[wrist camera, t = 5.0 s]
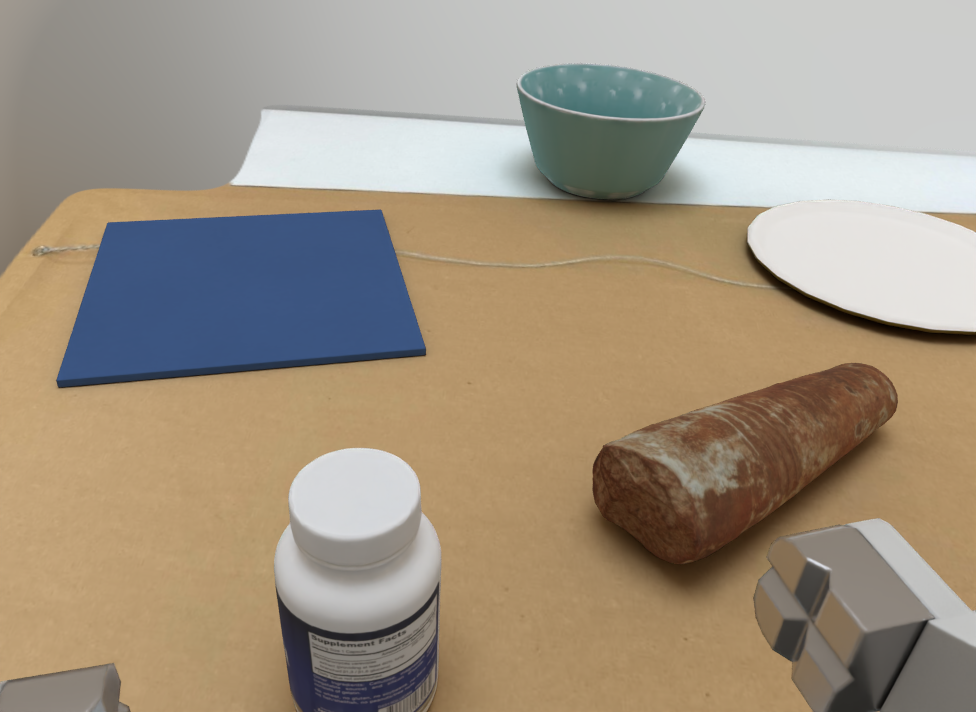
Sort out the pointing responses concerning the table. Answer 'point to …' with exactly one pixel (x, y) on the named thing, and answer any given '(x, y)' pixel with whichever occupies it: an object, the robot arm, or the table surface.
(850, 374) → the brown rounded cylinder
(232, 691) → the table surface
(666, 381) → the table surface
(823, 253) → the plate
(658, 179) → the bowl
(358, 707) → the pill bottle
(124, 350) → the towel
